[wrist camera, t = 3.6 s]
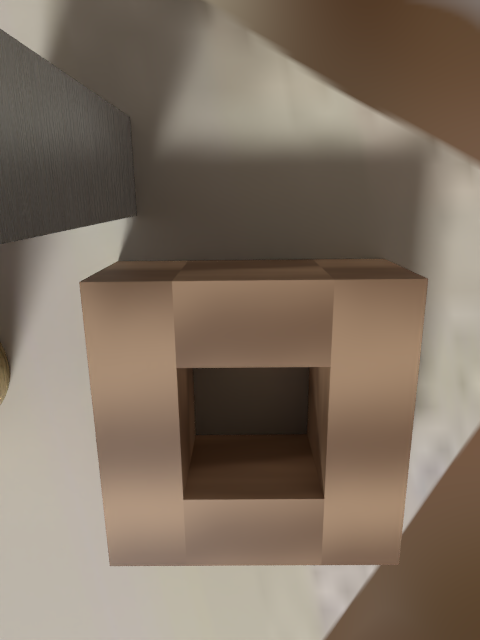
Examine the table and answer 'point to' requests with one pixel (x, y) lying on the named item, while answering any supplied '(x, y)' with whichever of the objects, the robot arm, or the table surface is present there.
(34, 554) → the table surface
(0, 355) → the round bit
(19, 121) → the square bit
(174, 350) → the socket block
